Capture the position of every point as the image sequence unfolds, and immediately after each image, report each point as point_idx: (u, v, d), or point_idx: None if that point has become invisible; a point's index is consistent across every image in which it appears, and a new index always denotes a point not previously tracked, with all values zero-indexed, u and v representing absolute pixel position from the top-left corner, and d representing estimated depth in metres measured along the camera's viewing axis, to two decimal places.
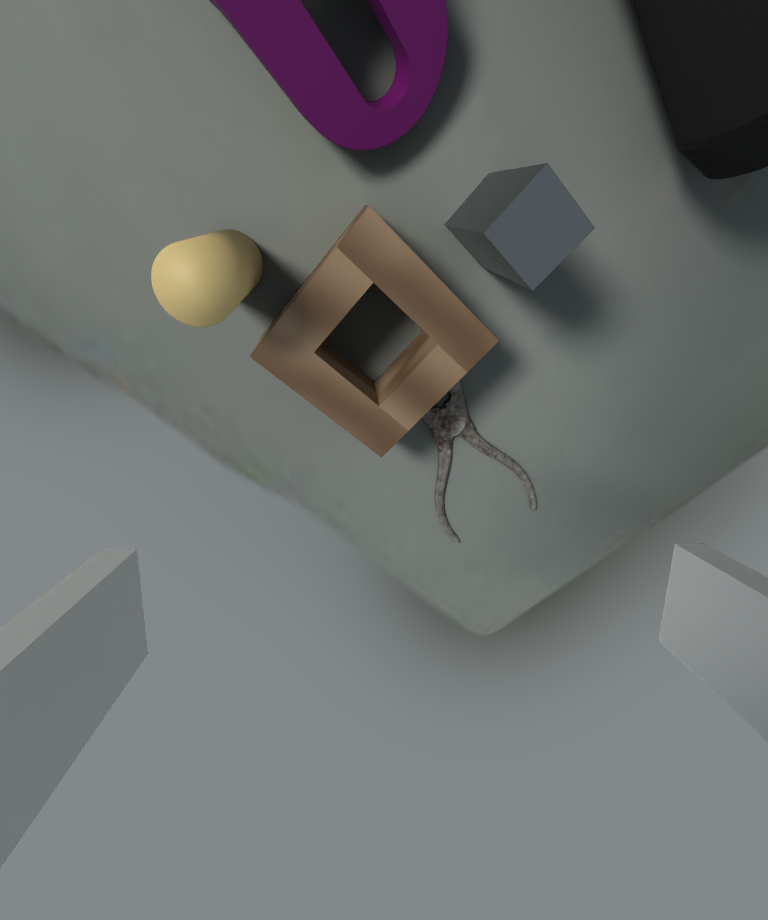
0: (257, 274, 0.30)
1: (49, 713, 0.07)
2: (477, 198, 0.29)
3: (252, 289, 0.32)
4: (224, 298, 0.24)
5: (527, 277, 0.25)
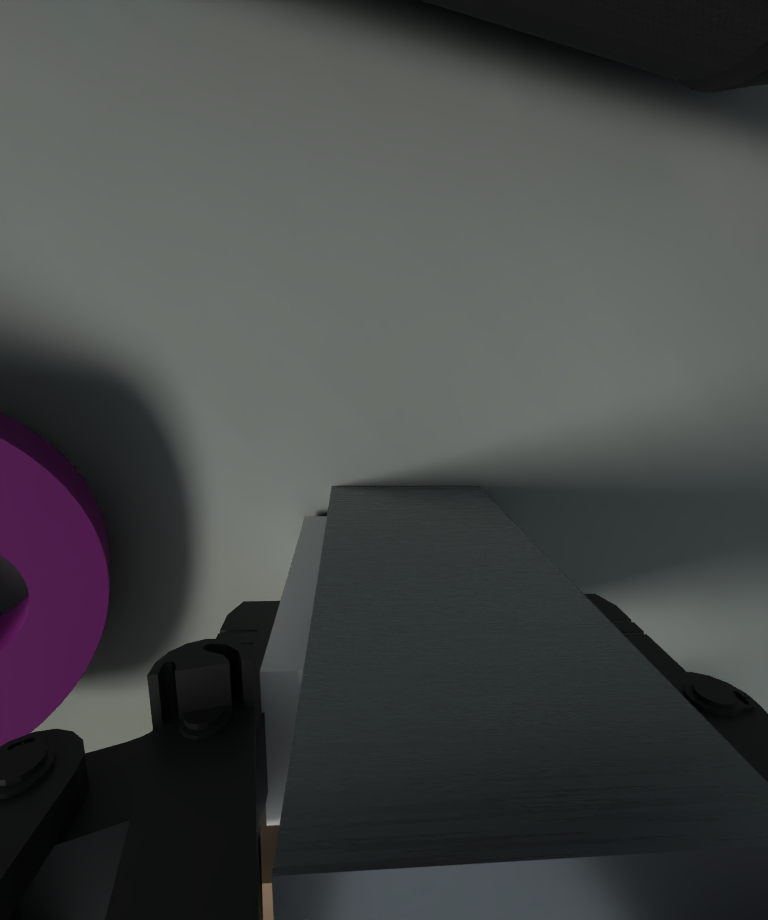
0: None
1: None
2: None
3: None
4: None
5: None
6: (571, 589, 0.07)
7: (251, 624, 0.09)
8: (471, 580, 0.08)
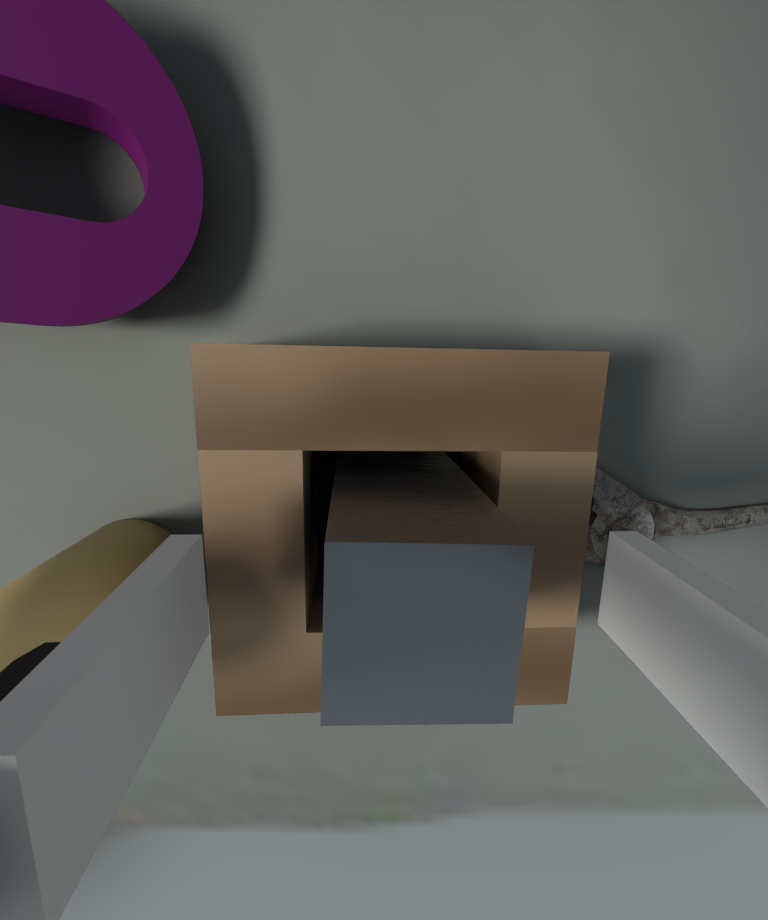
0: None
1: (147, 675, 0.08)
2: None
3: None
4: None
5: (478, 715, 0.10)
6: (476, 489, 0.13)
7: None
8: (421, 484, 0.13)
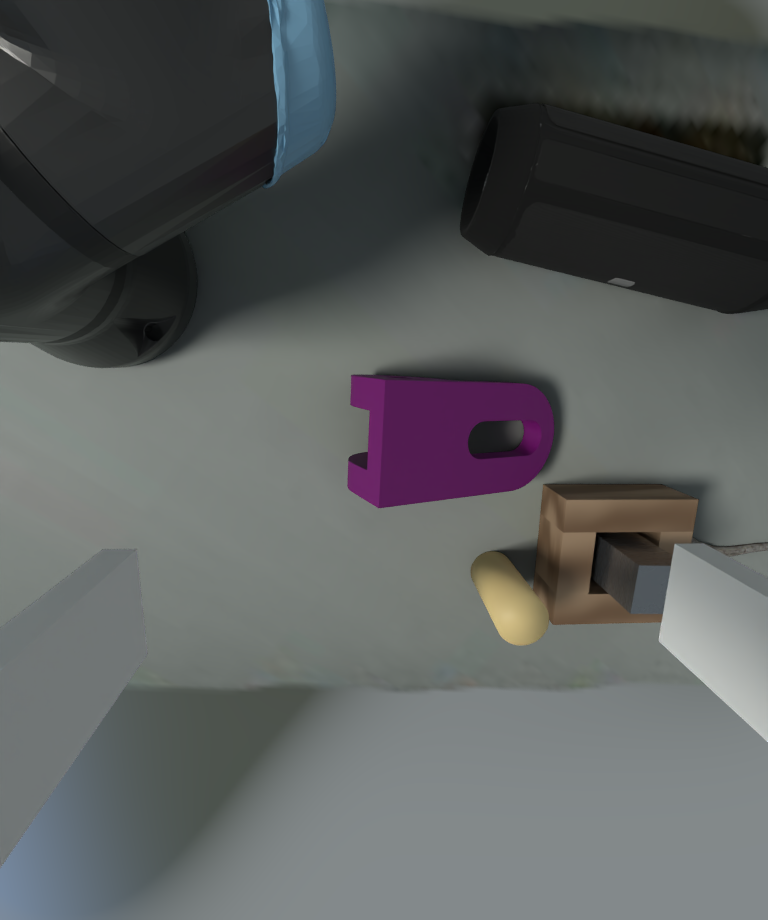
0: (511, 564, 0.43)
1: (49, 713, 0.07)
2: None
3: None
4: (537, 607, 0.36)
5: None
6: (656, 546, 0.40)
7: None
8: (636, 544, 0.40)
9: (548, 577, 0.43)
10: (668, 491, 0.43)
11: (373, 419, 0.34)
